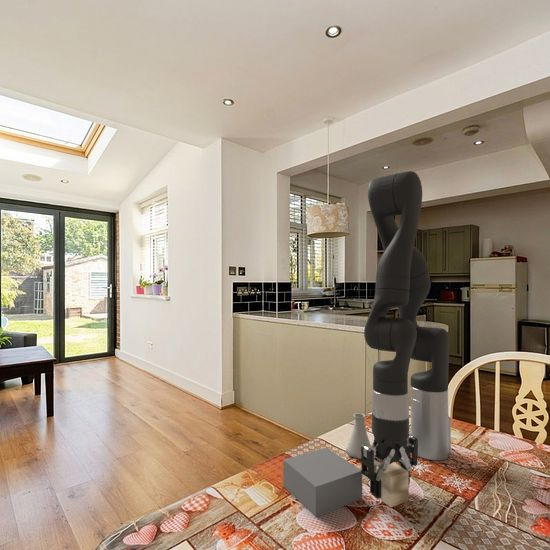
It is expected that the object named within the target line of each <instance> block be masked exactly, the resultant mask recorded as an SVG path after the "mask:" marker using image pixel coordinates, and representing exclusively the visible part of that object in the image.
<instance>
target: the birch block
mask: <svg viewBox="0 0 550 550" xmlns="http://www.w3.org/2000/svg"><path fill="white" fill-rule="evenodd" d="M382 463H383V462H382ZM382 463H380V464H382ZM377 470H378V466H377V468H376V470H375V472H376V473H377ZM380 480H381V498H379V499H378V500H380V501H382V502H383V503H384V504H386V505H387V506H388V507H390V508H393V507H396V506H398V505H401V504H403V503H406V502H409V500H410V498H409V495H410V494H409V493H410V492H409V491H410V490H409V488H410V484H409V473H408V471H407V470H405V469H404V468H402V467H401V466H400V465H399V464H397V463H396V462H393V463H391V464H389V465H388V468H387V470H386V471H384V472H383V474H382V477H381V479H380Z"/></svg>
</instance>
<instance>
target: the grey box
mask: <svg viewBox="0 0 550 550" xmlns="http://www.w3.org/2000/svg"><path fill="white" fill-rule="evenodd" d="M282 461H283V463H282V465H283V468H282V470H283V471H282V475H283V476H282V478H283V479H282V486H283V487H284V489H285V490H287V491H288V493H290V494H291V495H292V496H293V497H294V498H295V499H296V500H297V501H298V502H299V503H300V504H301V505H302V506H303V507H304V508H306V509H307V511H308V512H310V513H311V514H312V515H313V516H314V518H317V516H318V517H320V516H323V515H326V514H327V512H328V513H330V512H332V510H333V511H335V510H337V509H340V508H342V507H345V506H348V505H350V504H352V503H355V502H357V501H360V500H362V499H363V474H362V473H361V469H360V468H359V467H357V466H355V465H354V464H353V463H351V462H350V461H348V460H346V459H345V458H343V457H342V456H340V455H339V454H337V453H336V452H334V451H333V450H331V449H329V448H328V447H323V448H319V449H317V450H312V451H309V452H306V453H305V452H304V453H301V454H298V455H295V456H291V457H288V458H285V459H283V460H282ZM329 511H330V512H329ZM322 514H323V515H322Z"/></svg>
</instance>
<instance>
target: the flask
mask: <svg viewBox="0 0 550 550" xmlns="http://www.w3.org/2000/svg"><path fill="white" fill-rule="evenodd" d="M353 418H354V421H353V422H354V423H353V429H352V431H351V432H352V433H351V434H350V438H349V441H348V443H347V446H346V448H345V452H346V454H347V455H348V457H352V458H355V459H359V460H361V447H362V445H365V446H371V445H372V444H371V442H370V439H369V436H368V433H367V429H366V423H365V422H366V421H365V420H366V414H365V413H359V412H357V413H353Z"/></svg>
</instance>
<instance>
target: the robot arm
mask: <svg viewBox="0 0 550 550" xmlns="http://www.w3.org/2000/svg"><path fill="white" fill-rule="evenodd" d="M422 186H423V185H422V181H421V179H420V177H419V175H418V174H417V173H416V172H415V171H412V170H409V171H403V172H397V173H393V174H389V175H384V176H383V175H382V176H379V177H376V178H372V179H371V180H370V181H369V183H368V186H367V199H368V204H369V209H370V213H371V215H372V218H373V222H374V224H375V227H376V229H377V232H378V236H379V238H380V242H381V244H382V248H383V253H382V255H381V257H380V259H379V261H378V264H377V268H376V271H375V272H376V275H375V286H374V287H375V292H374V298H373V301H372V304H371V309H370V312H369V315H368V317H367V320H366V321H365V322H366V323H365V326H364V330H363V336H364V340H365V343H366V345H367V346H368V347H369V348H370V349H373V350H378V351H379V350H380V351H389V352H395V356H394V358H393V359H389V360H388V359H387V360H380V361H376V362H375V363H374V364H373V367H372V395H371V432H372V434H373V439H374V440H373V442H372V444H371V446H365V445H362V447H361V459H360V460H361V461H360V462H361V463H360V467H361V469H360V470H361V473H362V476H364V477H366V478H367V479H368V480H369V491H370V494H371V495H372V496H373V497H375V498H376V499H377V500H380V499H379V498H381V480H380V479H381V477H382V474H383V472H384V471H386V470H387V468H388V465H389V464H391V463H393V462H394V463H398V464H397V465H399V466H400V467H402V468H404V469H405V470H407V471H408V473H409V485H410V483H411V471H412V468H413V467H416V466H418V462H419V458H418V457H420V458H422V459H425V460H430V461H444V460H447V459H448V458H449V455H450V454H451V453H452V448H451V447H452V446H451V445H452V444H451V443H452V442H451V441H452V438H451V437H452V436H451V435H452V432H451V431H452V429H451V425H452V423H451V417H450V415H449V370H450V369H449V367H450V366H449V363H450V345H451V344H450V336H449V333H448V331H447V330H446V329H445V328H441V327H428V326H419V325H418V323H417V316H418V313H419V311H420V308H421V306H422V305H423V303H424V302H425V300H426V299H427V296H428V295H429V293H430V289H431V285H432V282H431V277H430V276H431V275H430V273H429V272H430V271H429V266H428V262H427V260H426V258H425V256H424V255H423V254H422V253H421V252H420V250H419V249H418V248H417V247H416V246H415V241H416V237H417V231H418V227H419V222H420V215H421V209H422V203H423V187H422ZM399 215H401V216H400V221H399V225H398V224H397V222H396V219H395V217H394V216H399ZM392 309H397V311H398V315H399V317H387V314H388V313H389V311H390V310H392ZM411 360H415V361H420V362H425V363H432V365H431V368H430V369H429V370H425V371H424V370H423V371H420V372H415V373H413V374H412V375H410V401H409V394H408V393H409V390H408V387H409V385H408V384H409V383H408V381H409V380H408V379H409V376H408V375H409V374H408V373H409V369H410V363H411ZM379 460H380V461H381V462H382V464H381V463H380V462H379ZM377 466H378V470H377V473H376V472H375V470H376V468H377Z"/></svg>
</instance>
